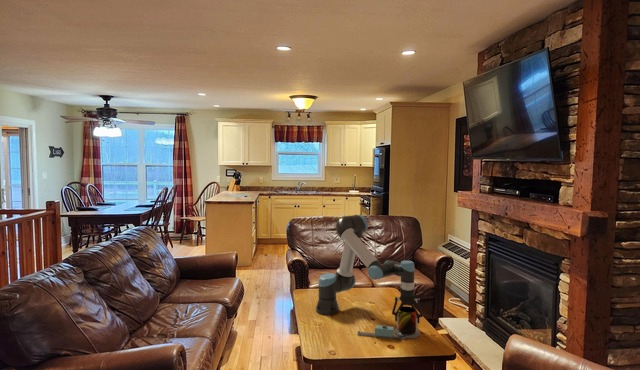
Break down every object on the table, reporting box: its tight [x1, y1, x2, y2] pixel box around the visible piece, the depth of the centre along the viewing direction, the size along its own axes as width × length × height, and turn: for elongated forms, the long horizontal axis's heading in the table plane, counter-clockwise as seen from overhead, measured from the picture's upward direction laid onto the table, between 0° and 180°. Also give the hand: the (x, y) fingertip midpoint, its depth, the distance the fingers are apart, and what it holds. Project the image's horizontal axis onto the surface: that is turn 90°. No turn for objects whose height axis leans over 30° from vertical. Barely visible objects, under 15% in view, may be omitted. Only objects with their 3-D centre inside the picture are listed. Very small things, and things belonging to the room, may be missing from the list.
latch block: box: [374, 324, 395, 337], centre depth 208 cm, size 4×10×5 cm, turn 77°
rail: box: [357, 330, 406, 341], centre depth 209 cm, size 2×26×2 cm, turn 77°
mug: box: [398, 305, 416, 334], centre depth 214 cm, size 10×14×12 cm
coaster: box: [394, 327, 421, 339], centre depth 213 cm, size 14×14×1 cm
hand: (407, 327), depth 213 cm, fingers closed on mug, 10 cm apart
